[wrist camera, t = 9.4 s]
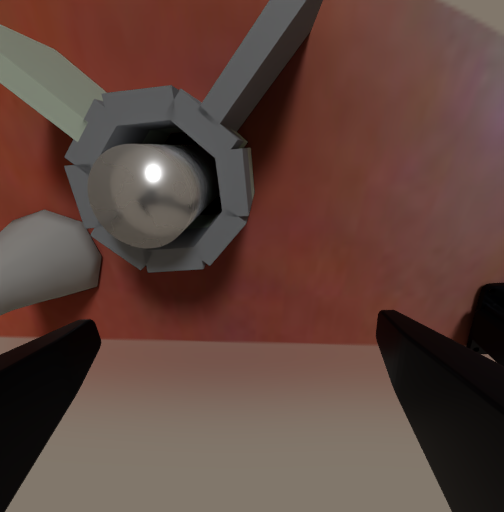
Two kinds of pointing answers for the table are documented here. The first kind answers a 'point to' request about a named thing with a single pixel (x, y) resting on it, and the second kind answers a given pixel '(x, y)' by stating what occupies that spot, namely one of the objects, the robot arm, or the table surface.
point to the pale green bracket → (65, 92)
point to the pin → (151, 191)
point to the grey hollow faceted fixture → (195, 135)
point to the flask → (45, 260)
